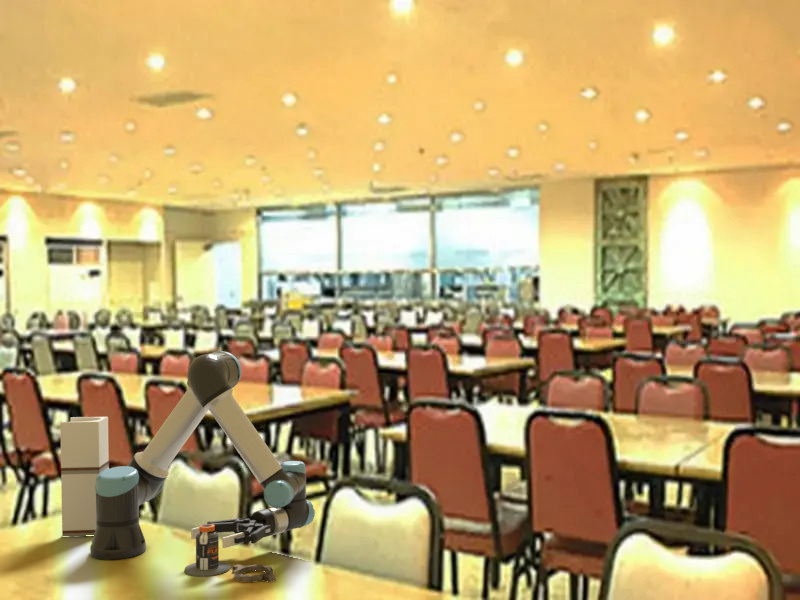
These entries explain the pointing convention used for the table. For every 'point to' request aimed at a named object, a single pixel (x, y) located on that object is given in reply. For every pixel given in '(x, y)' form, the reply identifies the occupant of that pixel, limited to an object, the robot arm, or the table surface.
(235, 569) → the collar
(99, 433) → the beige tall box
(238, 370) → the robot arm
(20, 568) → the table surface
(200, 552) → the pill bottle
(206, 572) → the coaster
